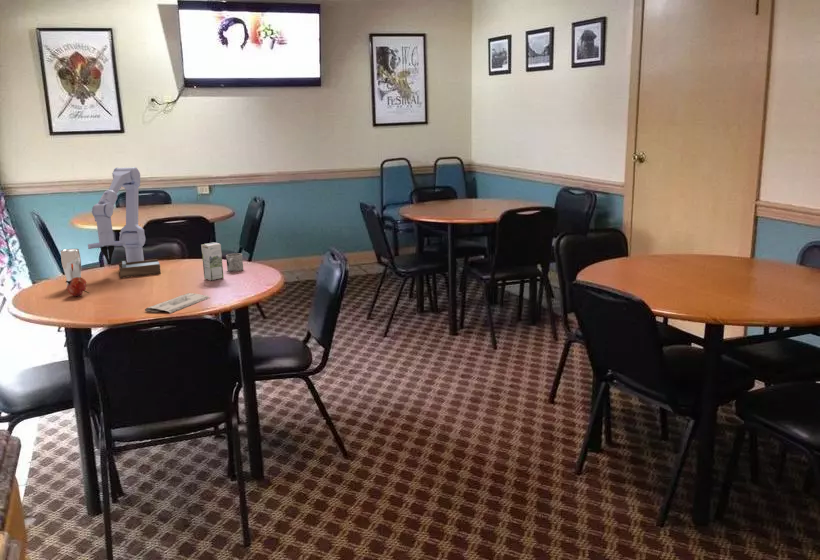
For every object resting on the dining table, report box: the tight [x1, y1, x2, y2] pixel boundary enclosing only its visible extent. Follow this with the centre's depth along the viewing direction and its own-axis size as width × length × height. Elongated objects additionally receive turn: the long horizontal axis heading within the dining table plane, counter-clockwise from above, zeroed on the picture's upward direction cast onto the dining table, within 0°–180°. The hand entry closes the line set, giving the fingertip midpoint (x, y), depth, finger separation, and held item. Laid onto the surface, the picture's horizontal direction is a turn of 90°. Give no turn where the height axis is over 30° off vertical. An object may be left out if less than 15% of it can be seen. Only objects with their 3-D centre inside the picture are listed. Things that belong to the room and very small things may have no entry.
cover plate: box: [121, 260, 160, 268], centre depth 305 cm, size 11×15×3 cm
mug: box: [225, 252, 244, 272], centre depth 302 cm, size 10×7×7 cm
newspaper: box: [144, 292, 210, 314], centre depth 249 cm, size 23×12×2 cm, turn 159°
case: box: [118, 258, 161, 279], centre depth 306 cm, size 13×16×4 cm
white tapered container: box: [60, 248, 82, 286], centre depth 282 cm, size 7×7×15 cm
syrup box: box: [200, 242, 224, 281], centre depth 286 cm, size 6×6×14 cm
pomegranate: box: [65, 276, 90, 297], centre depth 268 cm, size 7×7×10 cm
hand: (109, 263), depth 300 cm, fingers closed
